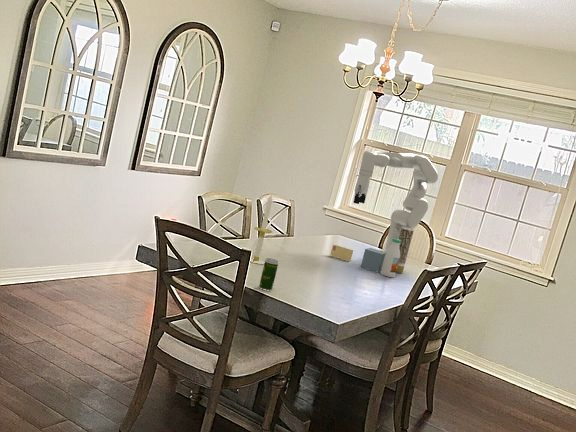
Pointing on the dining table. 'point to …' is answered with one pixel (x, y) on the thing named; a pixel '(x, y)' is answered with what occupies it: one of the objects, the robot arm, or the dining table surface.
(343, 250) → the tall yellow upright plank
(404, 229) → the paper tube
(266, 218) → the toy sword
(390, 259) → the milk bottle
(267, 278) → the beer can
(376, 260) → the dispenser
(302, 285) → the dining table surface
